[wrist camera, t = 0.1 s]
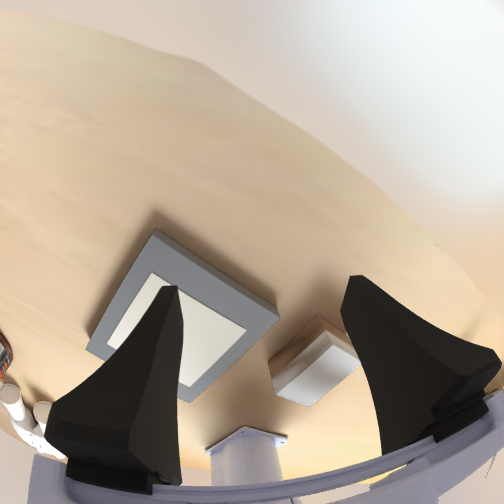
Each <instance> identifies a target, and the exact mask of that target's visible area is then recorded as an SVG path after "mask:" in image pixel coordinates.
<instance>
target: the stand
mask: <svg viewBox="0 0 504 504" xmlns="http://www.w3.org/2000/svg"><path fill="white" fill-rule="evenodd" d="M170 285H177V286H178V292H179V298H180V304H181V310H182V315H183V320H184V336H183V350H182V358H181V366H180V374H179V382H178V392H177V398H179V399H181V400H184V401H186V402H188V403H191V402H192V401H193V400H194V399H195V398H196V397H197V396H199V395H200V394H201V393H202V392H203V391H204V390H205V389H206V388H207V387H209V386H210V385H211V384H212V383H213V382H214V381H215V380H216V379H217V378H218V377H220V376H221V375H222V374H223V373H224V372H225V371H226V370H227V369H228V368H229V367H230V366H231V365H232V364H233V363H235V362H236V361H237V360H238V359H239V358H240V357H241V356H242V355H243V354H244V353H245V352H246V351H247V350H248V349H249V348H250V347H251V346H252V345H253V344H254V343H255V342H256V341H257V340H258V339H259V338H260V337H261V336H262V335H263V334H264V333H265V332H266V331H267V330H268V329H269V328H270V327H271V326H272V325H273V324H274V323H275V322H276V321H277V320H278V319H279V318H280V316H279V313H278V310H277V307H275V306H273V305H272V304H270V303H269V302H267V301H266V300H264V299H262V298H261V297H259V296H258V295H256V294H255V293H253V292H251V291H250V290H248V289H247V288H245V287H244V286H242V285H241V284H239V283H238V282H236V281H234V280H233V279H231V278H230V277H228V276H227V275H225V274H224V273H222V272H221V271H219V270H218V269H216V268H215V267H213V266H212V265H210V264H209V263H207V262H206V261H204V260H203V259H201V258H200V257H198V256H197V255H195V254H194V253H192V252H191V251H189V250H188V249H186V248H185V247H183V246H182V245H180V244H179V243H177V242H176V241H175V240H173V239H172V238H170V237H169V236H167V235H166V234H164V233H163V232H161V231H160V230H159V229H157V228H156V229H155V231H154V232H153V234H152V235H151V237H150V238H149V240H148V242H147V243H146V245H145V246H144V248H143V249H142V251H141V252H140V254H139V256H138V257H137V259H136V260H135V262H134V263H133V265H132V267H131V268H130V270H129V272H128V273H127V275H126V277H125V278H124V280H123V282H122V283H121V285H120V287H119V288H118V290H117V292H116V293H115V295H114V297H113V299H112V300H111V302H110V304H109V306H108V307H107V309H106V311H105V313H104V315H103V316H102V318H101V320H100V322H99V324H98V326H97V327H96V329H95V331H94V333H93V335H92V337H91V339H90V341H89V343H88V345H87V347H86V349H85V350H87V351H89V352H90V353H92V354H94V355H95V356H97V357H99V358H100V359H102V360H104V361H105V362H106V361H107V360H108V359H109V358H110V357H111V355H112V354H113V353H114V352H115V351H116V350H117V349H118V348H119V347H120V345H121V344H122V343H123V342H124V341H125V339H126V338H127V337H128V335H129V334H130V333H131V331H132V330H133V329H134V327H135V326H136V325H137V323H138V322H139V321H140V319H141V318H142V316H143V315H144V313H145V312H146V310H147V309H148V307H149V306H150V304H151V303H152V301H153V299H154V298H155V296H156V294H157V293H158V291H159V289H160V288H161V287H162V286H170Z"/></svg>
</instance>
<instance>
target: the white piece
mask: <svg viewBox="0 0 504 504" xmlns="http://www.w3.org/2000/svg"><path fill="white" fill-rule="evenodd" d="M0 401H1V402H2V403H3V404H4V405H5V406H6V408H7V409H8V410H9V417H10V420H11V422H12V424H13V426H14V428H15V430H16V432H17V433H18V434H19V436H20V437H21V438H22V439H23V440H24V441H25V442H27V443H28V444H29V445H31V446H34V447H35V448H36V449H37V450H38V452H41V453H43V452H45V453H48V454H52V455H55V456H56V457H57V458H59V459H63V458H65V455H63V454H62V453H61V452H59V451H58V450H56V449H55V448H54V447H52V446H51V445H50V444H49V443H48V442H47V441H46V440H45V438H44V432H45V428H46V423H47V419H48V415H49V411H50V409H51V406H52V403H50V402H47V401H40V402H38V403H36V404H35V406H34V408H33V413H34V417H35V419H36V420H37V421H38V424H37V426H36V424H35V421H34V419H33V416H32V414H31V411H30V409H28V408H27V407H25V406H24V404H23V402H22V397H21V392H20V390H19V388H18V387H17V386H15V385H13V384H4V385H3V386H1V387H0Z"/></svg>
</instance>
